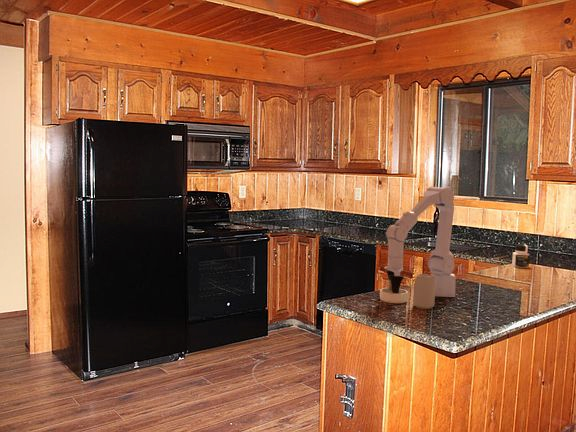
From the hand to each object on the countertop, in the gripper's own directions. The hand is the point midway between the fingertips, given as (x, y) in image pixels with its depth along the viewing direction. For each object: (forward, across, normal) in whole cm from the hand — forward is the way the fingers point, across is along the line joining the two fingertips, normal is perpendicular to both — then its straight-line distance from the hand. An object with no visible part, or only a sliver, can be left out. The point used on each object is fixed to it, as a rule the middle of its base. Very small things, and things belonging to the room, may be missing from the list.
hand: (394, 290), depth 214 cm
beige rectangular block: (+3, 0, 0) cm, 3 cm away
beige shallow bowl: (+4, 0, 0) cm, 4 cm away
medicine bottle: (+4, -87, +78) cm, 117 cm away
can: (+4, +9, +10) cm, 14 cm away
